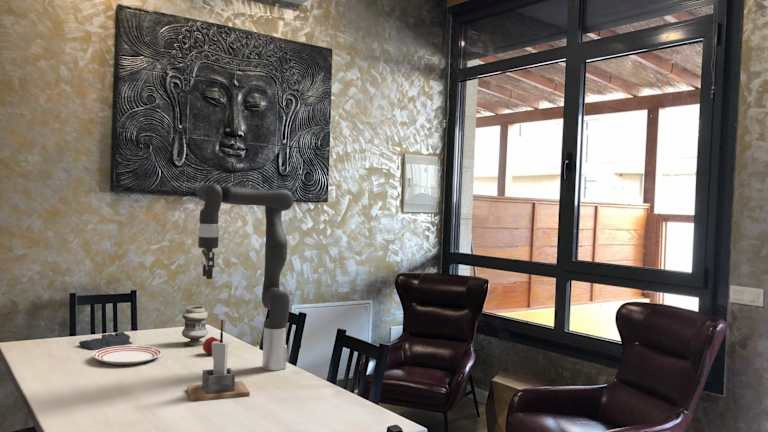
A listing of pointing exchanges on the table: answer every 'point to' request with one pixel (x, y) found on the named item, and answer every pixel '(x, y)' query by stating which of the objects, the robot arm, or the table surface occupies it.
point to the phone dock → (217, 387)
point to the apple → (209, 345)
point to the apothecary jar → (195, 325)
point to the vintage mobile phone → (220, 355)
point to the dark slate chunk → (107, 341)
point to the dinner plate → (127, 354)
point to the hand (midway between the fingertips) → (207, 277)
